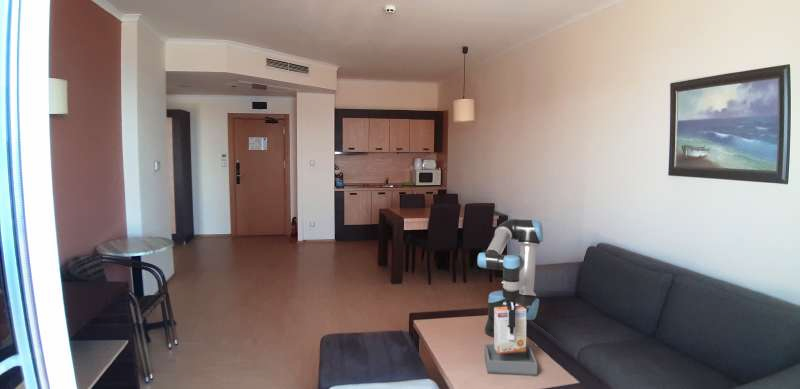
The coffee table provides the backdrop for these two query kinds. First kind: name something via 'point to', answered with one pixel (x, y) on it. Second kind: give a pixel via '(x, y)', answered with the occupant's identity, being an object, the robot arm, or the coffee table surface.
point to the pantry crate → (510, 362)
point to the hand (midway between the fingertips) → (510, 336)
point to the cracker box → (501, 330)
